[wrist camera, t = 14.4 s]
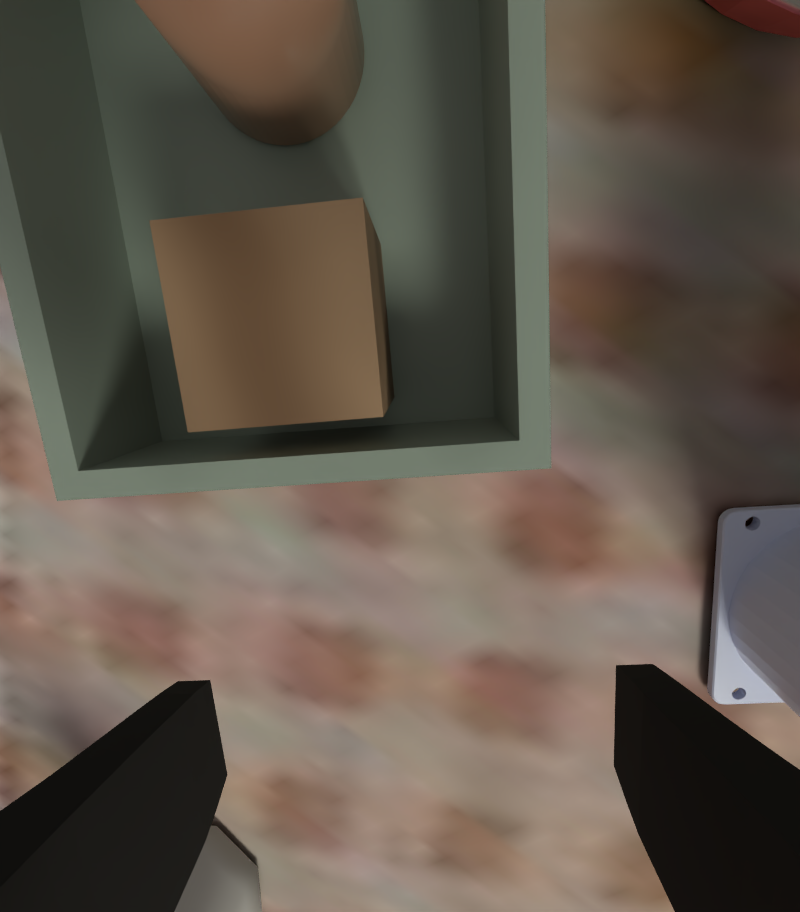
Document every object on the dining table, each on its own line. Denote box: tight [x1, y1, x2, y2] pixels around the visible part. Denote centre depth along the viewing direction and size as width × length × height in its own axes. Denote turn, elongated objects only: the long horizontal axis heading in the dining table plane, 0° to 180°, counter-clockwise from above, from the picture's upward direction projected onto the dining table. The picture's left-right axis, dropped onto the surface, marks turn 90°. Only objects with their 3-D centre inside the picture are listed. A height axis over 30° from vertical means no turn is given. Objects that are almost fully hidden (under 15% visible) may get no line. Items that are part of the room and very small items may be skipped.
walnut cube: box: [150, 198, 394, 432], centre depth 14 cm, size 5×5×5 cm
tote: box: [0, 0, 551, 501], centre depth 14 cm, size 14×18×5 cm
